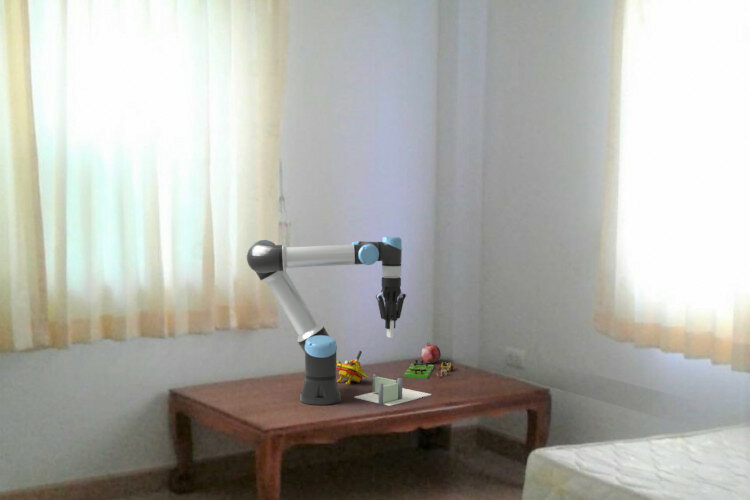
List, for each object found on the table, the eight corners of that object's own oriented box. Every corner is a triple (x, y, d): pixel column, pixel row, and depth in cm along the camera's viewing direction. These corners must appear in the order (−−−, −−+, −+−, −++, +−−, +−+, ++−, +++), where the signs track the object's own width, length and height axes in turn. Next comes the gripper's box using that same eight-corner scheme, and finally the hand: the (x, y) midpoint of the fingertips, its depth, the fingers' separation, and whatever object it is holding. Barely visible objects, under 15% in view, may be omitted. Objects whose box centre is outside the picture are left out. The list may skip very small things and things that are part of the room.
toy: (327, 377, 370) (341, 344, 374) (343, 386, 376) (357, 353, 380) (348, 383, 360) (363, 348, 364) (364, 392, 366) (378, 358, 370)
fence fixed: (381, 405, 333) (381, 383, 332) (377, 404, 334) (377, 382, 334) (403, 399, 342) (403, 378, 342) (399, 398, 343) (399, 377, 343)
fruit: (442, 361, 416) (442, 339, 415) (438, 365, 407) (439, 343, 406) (422, 360, 418) (422, 338, 418) (418, 364, 409) (418, 342, 408)
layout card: (389, 406, 332) (389, 404, 332) (354, 397, 344) (354, 396, 344) (431, 395, 350) (431, 394, 350) (396, 387, 362) (396, 386, 362)
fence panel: (397, 396, 344) (397, 378, 343) (395, 396, 342) (395, 379, 342) (374, 391, 351) (374, 373, 351) (371, 391, 350) (372, 374, 350)
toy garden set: (410, 367, 404) (410, 357, 403) (453, 369, 400) (454, 359, 400) (403, 378, 381) (403, 368, 381) (449, 380, 378) (449, 370, 378)
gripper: (399, 275, 358) (398, 334, 360) (371, 276, 351) (370, 336, 353) (410, 276, 352) (409, 337, 353) (382, 278, 345) (381, 339, 346)
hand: (390, 337), depth 353 cm, fingers closed
